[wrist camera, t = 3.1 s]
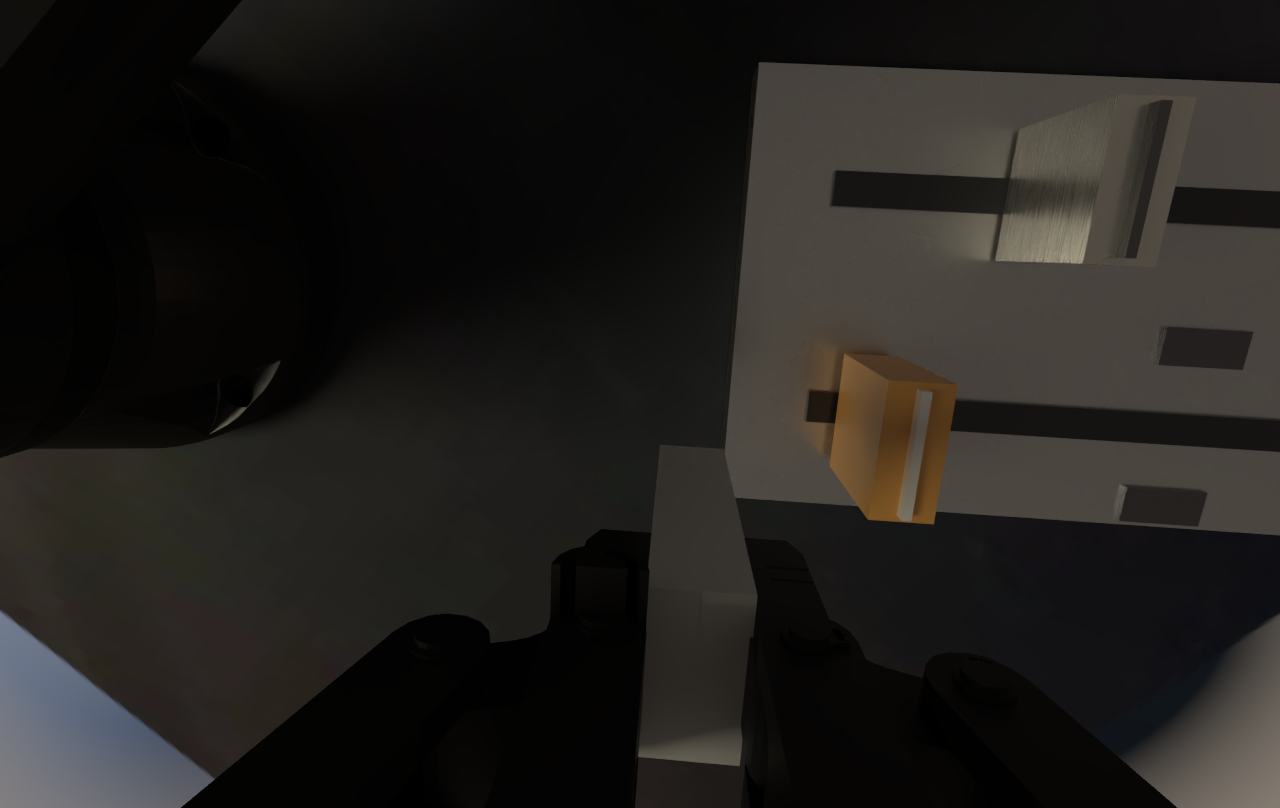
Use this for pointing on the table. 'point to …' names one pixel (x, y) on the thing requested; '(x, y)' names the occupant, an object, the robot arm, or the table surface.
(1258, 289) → the console
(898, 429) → the fader
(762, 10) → the table surface
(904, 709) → the robot arm
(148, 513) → the table surface
